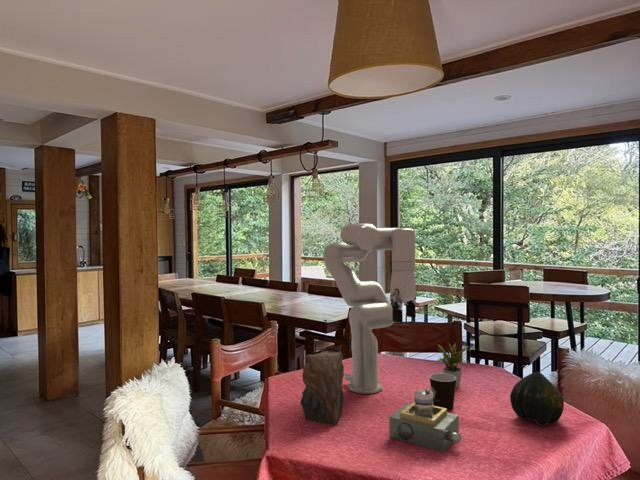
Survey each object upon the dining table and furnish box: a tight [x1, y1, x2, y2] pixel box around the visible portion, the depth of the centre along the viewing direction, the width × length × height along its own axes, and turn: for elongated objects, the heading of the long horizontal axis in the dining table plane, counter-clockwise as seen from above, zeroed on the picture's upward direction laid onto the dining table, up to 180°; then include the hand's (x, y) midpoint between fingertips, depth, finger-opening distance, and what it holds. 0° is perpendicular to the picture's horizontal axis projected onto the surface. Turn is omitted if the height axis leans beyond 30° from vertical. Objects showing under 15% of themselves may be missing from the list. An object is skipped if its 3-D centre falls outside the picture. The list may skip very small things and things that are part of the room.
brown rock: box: [300, 350, 345, 426], centre depth 148 cm, size 13×13×20 cm
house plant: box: [436, 342, 472, 389], centre depth 172 cm, size 14×14×16 cm
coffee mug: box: [429, 372, 456, 412], centre depth 154 cm, size 12×9×10 cm
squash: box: [509, 370, 565, 427], centre depth 142 cm, size 14×15×15 cm
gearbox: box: [388, 401, 462, 453], centre depth 131 cm, size 19×13×8 cm, turn 54°
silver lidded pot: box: [413, 388, 434, 418], centre depth 132 cm, size 5×5×8 cm
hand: (404, 319), depth 149 cm, fingers open, 9 cm apart
